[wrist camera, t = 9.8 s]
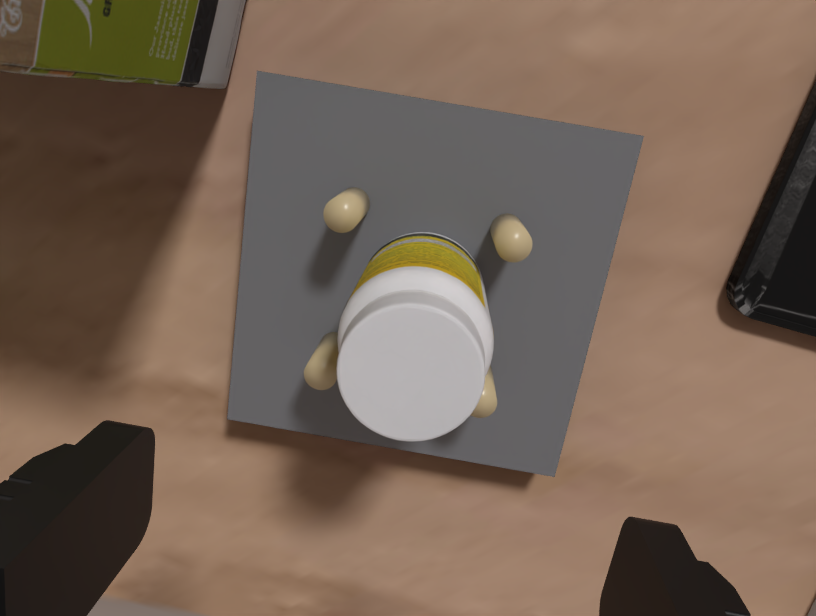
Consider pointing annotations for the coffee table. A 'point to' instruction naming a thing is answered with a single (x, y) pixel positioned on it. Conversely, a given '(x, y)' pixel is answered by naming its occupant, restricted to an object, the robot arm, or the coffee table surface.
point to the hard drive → (812, 610)
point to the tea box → (122, 40)
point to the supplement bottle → (415, 339)
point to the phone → (783, 240)
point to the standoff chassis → (423, 212)
